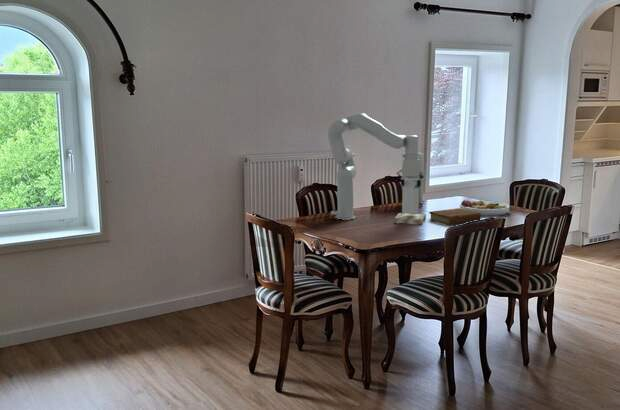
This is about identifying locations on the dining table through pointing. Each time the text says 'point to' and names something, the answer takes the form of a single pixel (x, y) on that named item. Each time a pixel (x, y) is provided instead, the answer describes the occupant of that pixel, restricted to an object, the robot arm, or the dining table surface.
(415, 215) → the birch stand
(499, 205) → the bowl
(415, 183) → the milk carton
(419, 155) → the display case
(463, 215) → the diary
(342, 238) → the dining table surface
